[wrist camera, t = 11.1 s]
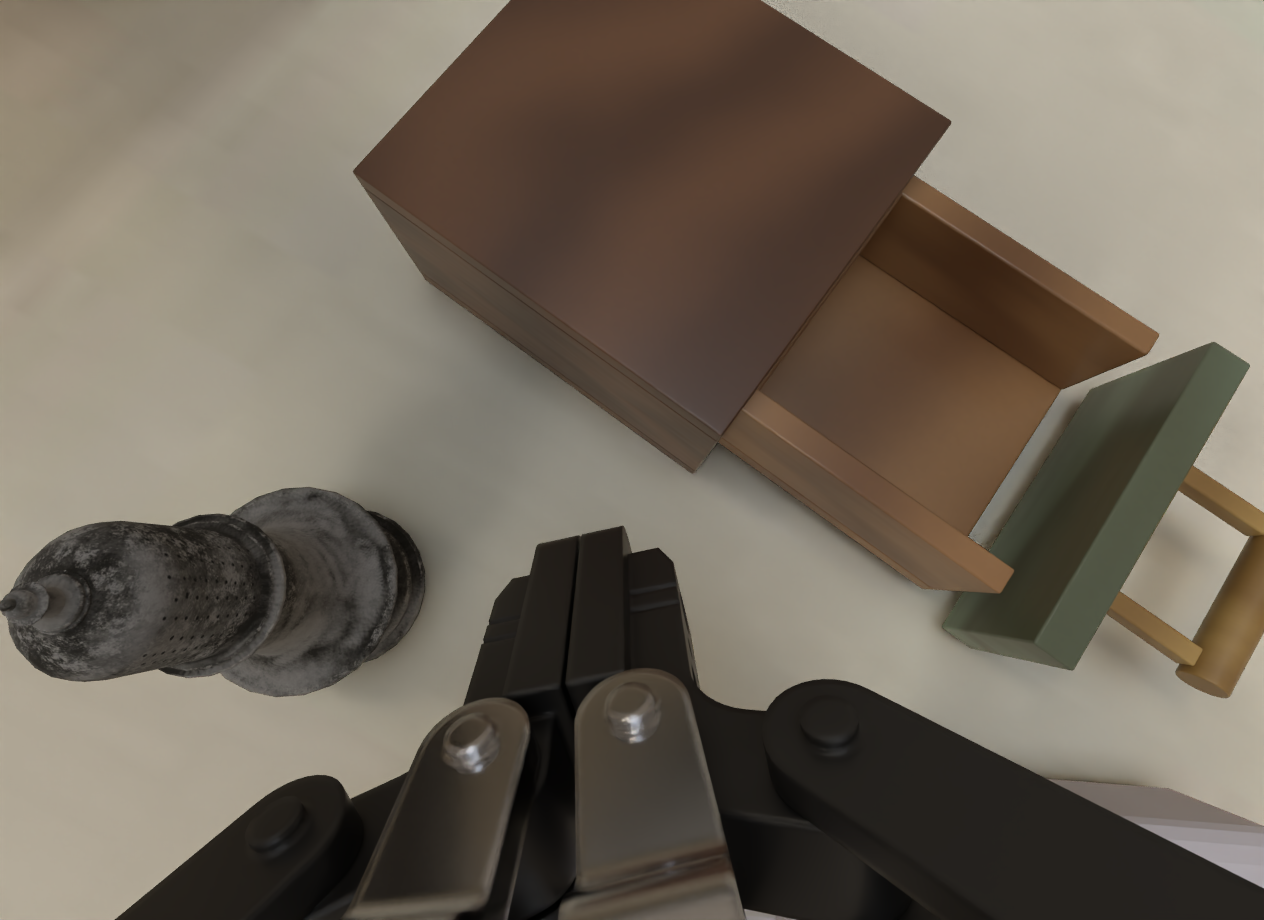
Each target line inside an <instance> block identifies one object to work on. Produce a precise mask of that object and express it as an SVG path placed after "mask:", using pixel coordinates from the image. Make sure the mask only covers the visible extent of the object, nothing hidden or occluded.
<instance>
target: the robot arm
mask: <svg viewBox="0 0 1264 920" xmlns="http://www.w3.org/2000/svg"><path fill="white" fill-rule="evenodd" d="M483 640H484V644H482V645H481V649H480V652H479V655H478V659H477V662H476V665H475V668H474V672H473V675H472V678H471V682H470V685H469V688H468V692H467V695H466V698H465V702H464V705H463V706H462V707H460V708H458V709H457V710H455V711H453V712H451V713H450V714H449V715H447V716H446V717H445V718H443V719H442V720H441V721H440V722H439V723H438V724H436V725H435V726H434V728H433V729H432V730H431V731H430V732H429V733H428V734H427V736H426V737H425V739H424V740H423V742H422V743H421V745H420V747H419V749H418V751H417V754H416V756H415V758H414V760H413V763H412V765H411V767H410V770H409V772H407V773H405V774H403V775H401V776H399V777H397V778H395V779H393V780H390V781H388V782H386V783H384V784H382V785H380V786H378V787H375V788H373V789H371V790H369V791H367V792H365V793H363V794H360V795H358V796H356V797H354V798H352V799H350V798H349V796H348V794H347V793H346V791H345V789H344V788H343V786H342V784H341V783H340V782H339V781H338V780H337V779H335V778H333V777H330V776H326V775H314V776H307V777H304V778H300V779H297V780H295V781H292V782H290V783H287V784H285V785H284V786H282V787H280V788H278V789H276V790H274V791H273V792H271V793H270V794H268V795H267V796H265V797H264V798H263V799H261V800H260V801H259V802H257V803H256V804H255V805H254V806H252V807H251V808H250V809H249V810H247V811H246V812H245V813H244V814H243V815H241V816H240V817H239V818H238V819H237V820H235V821H234V822H233V823H232V824H230V825H229V826H228V827H227V828H226V829H224V830H223V831H222V832H221V833H220V834H218V835H217V836H216V837H215V838H213V839H212V840H211V841H210V842H209V843H207V844H206V845H205V846H204V847H203V848H201V849H200V850H199V851H198V852H196V853H195V854H194V855H193V856H192V857H190V858H189V859H188V860H187V861H186V862H184V863H183V864H182V865H181V866H179V867H178V868H177V869H176V870H175V871H173V872H172V873H171V874H170V875H169V876H167V877H166V878H165V879H164V880H162V881H161V882H160V883H159V884H158V885H156V886H155V887H154V888H153V889H152V890H150V891H149V892H148V893H147V894H145V895H144V896H143V897H142V898H141V899H139V900H138V901H137V902H136V903H135V904H133V905H132V906H131V907H130V908H128V909H127V910H126V911H125V912H124V913H122V914H121V915H120V916H119V917H118V918H116V919H115V920H747V919H746V915H745V911H744V909H747V910H752V911H757V912H761V913H766V914H771V915H776V916H781V917H786V918H790V919H795V920H1264V888H1262V887H1260V886H1258V885H1256V884H1254V883H1252V882H1250V881H1248V880H1246V879H1244V878H1242V877H1240V876H1238V875H1236V874H1234V873H1232V872H1230V871H1228V870H1226V869H1224V868H1222V867H1220V866H1218V865H1216V864H1214V863H1212V862H1211V861H1209V860H1207V859H1205V858H1203V857H1201V856H1199V855H1197V854H1195V853H1193V852H1191V851H1189V850H1187V849H1185V848H1183V847H1181V846H1179V845H1177V844H1175V843H1173V842H1171V841H1169V840H1167V839H1165V838H1163V837H1161V836H1159V835H1157V834H1155V833H1153V832H1151V831H1149V830H1147V829H1145V828H1143V827H1141V826H1139V825H1137V824H1135V823H1133V822H1131V821H1129V820H1127V819H1125V818H1123V817H1121V816H1119V815H1117V814H1115V813H1113V812H1111V811H1109V810H1107V809H1105V808H1103V807H1101V806H1099V805H1097V804H1095V803H1093V802H1091V801H1089V800H1087V799H1085V798H1083V797H1081V796H1079V795H1077V794H1076V793H1074V792H1072V791H1070V790H1068V789H1066V788H1064V787H1062V786H1060V785H1058V784H1056V783H1054V782H1052V781H1050V780H1048V779H1046V778H1044V777H1042V776H1040V775H1038V774H1036V773H1034V772H1032V771H1030V770H1028V769H1026V768H1024V767H1022V766H1020V765H1018V764H1016V763H1014V762H1012V761H1010V760H1008V759H1006V758H1004V757H1002V756H1000V755H998V754H996V753H994V752H992V751H990V750H988V749H986V748H984V747H982V746H980V745H978V744H976V743H974V742H972V741H970V740H968V739H966V738H964V737H962V736H960V735H958V734H956V733H954V732H952V731H950V730H948V729H946V728H944V727H942V726H941V725H939V724H937V723H935V722H933V721H931V720H929V719H927V718H925V717H923V716H921V715H919V714H917V713H915V712H913V711H911V710H909V709H907V708H905V707H903V706H901V705H899V704H897V703H895V702H893V701H891V700H889V699H887V698H885V697H883V696H881V695H879V694H877V693H875V692H873V691H871V690H869V689H867V688H865V687H862V686H860V685H858V684H854V683H851V682H847V681H841V680H833V679H821V680H812V681H808V682H804V683H800V684H798V685H795V686H793V687H791V688H789V689H787V690H786V691H784V692H783V693H781V694H780V695H779V696H778V697H776V698H775V700H774V701H773V702H772V703H771V704H770V706H769V707H768V709H767V711H758V710H746V709H739V708H733V707H730V706H726V705H723V704H721V703H719V702H716V701H714V700H713V699H711V698H710V697H708V696H707V695H705V694H704V693H703V692H702V691H701V690H700V687H699V681H698V675H697V669H696V663H695V658H694V651H693V645H692V639H691V633H690V629H689V625H688V621H687V617H686V613H685V609H684V605H683V600H682V596H681V592H680V588H679V584H678V580H677V576H676V572H675V567H674V563H673V561H672V560H671V559H670V558H668V557H667V556H666V555H665V554H664V553H663V552H662V551H661V550H660V549H659V548H654V549H650V550H645V551H640V552H636V553H632V551H631V547H630V543H629V540H628V536H627V533H626V530H625V528H624V526H619V527H615V528H610V529H605V530H601V531H596V532H591V533H587V534H582V535H581V536H579V535H578V536H574V537H569V538H564V539H560V540H555V541H550V542H546V543H541V544H538V545H537V547H536V550H535V555H534V559H533V563H532V568H531V572H530V575H528V576H523V577H519V578H514V579H512V580H511V581H510V583H509V584H508V585H507V586H506V587H505V589H504V590H503V591H502V592H501V593H500V595H499V596H498V597H497V598H496V599H495V602H494V606H493V609H492V612H491V615H490V619H489V625H488V626H487V629H486V632H485V635H484V639H483Z"/></svg>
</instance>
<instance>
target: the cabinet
mask: <svg viewBox="0 0 1264 920" xmlns="http://www.w3.org/2000/svg"><path fill="white" fill-rule="evenodd" d="M950 125H951V121H950V120H949V119H947V118H946V117H944V116H943V115H941V114H939V113H938V112H936V111H935V110H933V109H932V108H930V107H928V106H927V105H925V104H924V103H922V102H920V101H919V100H917V99H916V98H914V97H913V96H911V95H909V94H908V93H906V92H905V91H903V90H902V89H900V88H898V87H897V86H895V85H894V84H892V83H891V82H889V81H887V80H886V79H884V78H883V77H881V76H879V75H878V74H876V73H875V72H873V71H872V70H870V69H868V68H867V67H865V66H864V65H862V64H861V63H859V62H857V61H856V60H854V59H853V58H851V57H849V56H848V55H846V54H845V53H843V52H842V51H840V50H838V49H837V48H835V47H834V46H832V45H831V44H829V43H827V42H826V41H824V40H823V39H821V38H819V37H818V36H816V35H815V34H813V33H812V32H810V31H808V30H807V29H805V28H804V27H802V26H801V25H799V24H797V23H796V22H794V21H793V20H791V19H789V18H788V17H786V16H785V15H783V14H782V13H780V12H778V11H777V10H775V9H774V8H772V7H771V6H769V5H767V4H766V3H764V2H763V1H761V0H510V2H509V3H508V4H507V5H506V6H505V7H504V8H503V9H502V10H501V11H500V12H499V13H498V15H497V16H496V17H495V18H494V19H493V20H492V21H491V22H490V23H489V24H488V25H487V26H486V27H485V29H484V30H483V31H482V32H481V33H480V34H479V35H478V36H477V37H476V38H475V39H474V40H473V42H472V43H471V44H470V45H469V46H468V47H467V48H466V49H465V50H464V51H463V52H462V53H461V55H460V56H459V57H458V58H457V59H456V60H455V61H454V62H453V63H452V64H451V65H450V66H449V67H448V69H447V70H446V71H445V72H444V73H443V74H442V75H441V76H440V77H439V78H438V79H437V80H436V82H435V83H434V84H433V85H432V86H431V87H430V88H429V89H428V90H427V91H426V92H425V93H424V94H423V96H422V97H421V98H420V99H419V100H418V101H417V102H416V103H415V104H414V105H413V106H412V107H411V109H410V110H409V111H408V112H407V113H406V114H405V115H404V116H403V117H402V118H401V119H400V120H399V122H398V123H397V124H396V125H395V126H394V127H393V128H392V129H391V130H390V131H389V132H388V133H387V134H386V136H385V137H384V138H383V139H382V140H381V141H380V142H379V143H378V144H377V145H376V146H375V147H374V149H373V150H372V151H371V152H370V153H369V154H368V155H367V156H366V157H365V158H364V159H363V160H362V161H361V163H360V164H359V165H358V166H357V167H356V168H355V169H354V170H353V173H354V174H355V176H356V177H357V179H358V180H359V182H360V183H361V185H362V186H363V187H364V189H365V190H366V192H367V193H368V195H369V196H370V198H371V199H372V201H373V202H374V204H375V205H376V207H377V208H378V210H379V211H380V213H381V214H382V216H383V217H384V219H385V220H386V222H387V223H388V225H389V226H390V228H391V229H392V231H393V232H394V234H395V235H396V237H397V238H398V239H399V241H400V242H401V244H402V245H403V247H404V248H405V250H406V251H407V253H408V254H409V256H410V257H411V259H412V260H413V262H414V263H415V265H416V266H417V268H418V269H419V271H420V272H421V274H422V275H423V277H424V278H425V280H427V281H428V282H429V283H431V284H432V285H434V286H435V287H436V288H438V289H439V290H440V291H442V292H443V293H445V294H446V295H447V296H449V297H450V298H451V299H453V300H454V301H456V302H457V303H458V304H460V305H461V306H462V307H464V308H465V309H467V310H468V311H469V312H471V313H472V314H473V315H475V316H476V317H478V318H479V319H480V320H482V321H483V322H484V323H486V324H487V325H489V326H490V327H491V328H493V329H494V330H495V331H497V332H498V333H500V334H501V335H502V336H504V337H505V338H506V339H508V340H509V341H511V342H512V343H513V344H515V345H516V346H517V347H519V348H520V349H522V350H523V351H524V352H526V353H527V354H528V355H530V356H531V357H532V358H534V359H535V360H537V361H538V362H539V363H541V364H542V365H543V366H545V367H546V368H548V369H549V370H550V371H552V372H553V373H554V374H556V375H557V376H559V377H560V378H561V379H563V380H564V381H565V382H567V383H568V384H570V385H571V386H572V387H574V388H575V389H576V390H578V391H579V392H581V393H582V394H583V395H585V396H586V397H587V398H589V399H590V400H592V401H593V402H594V403H596V404H597V405H598V406H600V407H601V408H603V409H604V410H605V411H607V412H608V413H609V414H611V415H612V416H614V417H615V418H616V419H618V420H619V421H620V422H622V423H623V424H625V425H626V426H627V427H629V428H630V429H631V430H633V431H634V432H635V433H637V434H638V435H640V436H641V437H642V438H644V439H645V440H646V441H648V442H649V443H651V444H652V445H653V446H655V447H656V448H657V449H659V450H660V451H662V452H663V453H664V454H666V455H667V456H668V457H670V458H671V459H673V460H674V461H675V462H677V463H678V464H679V465H681V466H682V467H684V468H685V469H686V470H688V471H689V472H690V473H692V474H694V473H695V472H696V471H697V469H698V468H699V466H700V465H701V464H702V462H703V461H704V460H705V458H706V457H707V456H708V454H709V453H710V452H711V450H712V449H713V448H714V446H715V445H716V444H717V442H718V441H719V440H720V438H721V437H722V436H723V434H724V433H725V432H726V430H727V429H728V427H729V426H730V425H731V423H732V422H733V421H734V419H735V418H736V417H737V415H738V414H739V412H740V411H741V410H742V408H743V407H744V406H745V404H746V403H747V402H748V400H749V399H750V397H751V396H752V395H753V393H754V392H755V391H756V389H757V388H758V387H759V385H760V384H761V382H762V381H763V380H764V378H765V377H766V376H767V374H768V373H769V372H770V370H771V369H772V367H773V366H774V365H775V363H776V362H777V361H778V359H779V358H780V357H781V355H782V354H783V352H784V351H785V350H786V348H787V347H788V346H789V344H790V343H791V342H792V340H793V339H794V337H795V336H796V335H797V333H798V332H799V331H800V329H801V328H802V327H803V325H804V324H805V322H806V321H807V320H808V318H809V317H810V316H811V314H812V313H813V312H814V310H815V309H816V307H817V306H818V305H819V303H820V302H821V301H822V299H823V298H824V297H825V295H826V294H827V292H828V291H829V290H830V288H831V287H832V286H833V284H834V283H835V282H836V280H837V279H838V277H839V276H840V275H841V273H842V272H843V271H844V269H845V268H846V267H847V265H848V264H849V262H850V261H851V260H852V258H853V257H854V256H855V254H856V253H857V252H858V250H859V249H860V247H861V246H862V245H863V243H864V242H865V241H866V239H867V238H868V237H869V235H870V234H871V232H872V231H873V230H874V228H875V227H876V226H877V224H878V223H879V222H880V220H881V219H882V217H883V216H884V215H885V213H886V212H887V211H888V209H889V208H890V207H891V205H892V204H893V202H894V201H895V200H896V198H897V197H898V196H899V194H900V193H901V192H902V190H903V189H904V187H905V186H906V185H907V183H908V182H909V181H910V179H911V178H912V177H913V175H914V174H915V172H916V171H917V170H918V168H919V167H920V166H921V164H922V163H923V162H924V160H925V159H926V157H927V156H928V155H929V153H930V152H931V151H932V149H933V148H934V147H935V145H936V144H937V142H938V141H939V140H940V138H941V137H942V136H943V134H944V133H945V132H946V130H947V129H948V127H949V126H950Z"/></svg>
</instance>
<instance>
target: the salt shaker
mask: <svg viewBox="0 0 1264 920" xmlns="http://www.w3.org/2000/svg"><path fill="white" fill-rule="evenodd" d="M424 592H425V571H424V567H423V563H422V560H421V556H420V552H419V550H418V549H417V547H416V545H415V544H414V542H413V540H412V539H411V537H410V535H409V534H408V533H407V532H406V531H405V530H403V529H402V528H401V527H400V526H399V525H398V524H397V523H396V522H395V521H393V520H391V519H389V518H387V517H385V516H383V515H381V514H379V513H376V512H371V511H366V510H365V509H364V508H363V507H362V506H360V505H359V504H358V503H356V502H354V501H352V500H350V499H348V498H346V497H344V496H342V495H340V494H338V493H336V492H331V491H326V490H321V489H316V488H312V487H303V488H287V489H281V490H278V491H275V492H271V493H268V494H265V495H262V496H259V497H257V498H255V499H253V500H252V501H250V502H248V503H247V504H245V505H243V506H242V507H240V508H239V509H237V510H235V511H234V512H233V513H232V514H231V515H230V516H229V515H224V514H209V515H198V516H195V517H192V518H189V519H186V520H183V521H180V522H177V523H176V524H174V525H173V526H166V525H156V524H146V523H136V522H126V521H114V522H101V523H95V524H89V525H85V526H82V527H79V528H76V529H73V530H70V531H67V532H66V533H64V534H62V535H61V536H59V537H57V538H56V539H54V540H53V541H51V542H49V543H48V544H47V545H46V546H45V547H44V548H43V549H42V550H41V551H40V552H39V553H38V554H37V555H35V556H34V557H33V558H32V559H31V560H30V561H29V562H28V563H27V564H26V566H25V567H24V569H23V570H22V572H21V573H20V575H19V576H18V578H17V579H16V582H15V584H14V587H13V589H12V590H11V591H10V593H9V594H7V595H6V596H5V597H4V598H3V600H2V601H0V610H1V612H2V614H3V615H4V616H6V618H7V620H8V625H9V632H10V635H11V637H12V639H13V641H14V644H15V646H16V648H17V649H18V650H19V651H20V652H21V654H22V655H23V656H24V657H25V658H26V659H27V660H28V661H29V662H30V663H31V664H32V665H33V666H34V667H35V668H36V669H38V670H40V671H42V672H44V673H45V674H47V675H49V676H51V677H55V678H60V679H65V680H70V681H82V682H87V681H99V680H108V679H113V678H118V677H122V676H127V675H132V674H136V673H141V672H146V671H151V670H155V669H159V670H161V671H163V672H165V673H166V674H170V675H175V676H180V677H185V678H193V677H205V676H212V675H215V674H218V673H221V674H222V675H223V676H224V677H225V678H226V679H227V680H229V681H231V682H233V683H235V684H237V685H238V686H240V687H242V688H244V689H246V690H248V691H250V692H255V693H259V694H264V695H269V696H274V697H283V696H297V695H306V694H308V693H311V692H314V691H317V690H320V689H323V688H326V687H329V686H332V685H334V684H335V683H337V682H338V681H340V680H341V679H343V678H344V677H346V676H347V675H349V674H350V673H352V672H353V671H355V670H356V669H357V668H358V667H359V666H360V665H361V664H362V663H364V662H367V661H370V660H373V659H375V658H378V657H379V656H381V655H382V654H384V653H385V652H387V651H388V650H390V649H391V648H393V647H394V646H395V645H396V644H397V643H398V642H399V641H400V640H401V639H402V638H403V637H404V636H405V634H406V633H407V632H408V631H409V630H410V628H411V626H412V624H413V623H414V621H415V619H416V617H417V615H418V613H419V611H420V607H421V604H422V600H423V596H424Z"/></svg>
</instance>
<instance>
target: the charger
mask: <svg viewBox="0 0 1264 920" xmlns="http://www.w3.org/2000/svg"><path fill="white" fill-rule="evenodd" d="M1048 780H1050V781H1052V782H1054V783H1056V784H1058V785H1060V786H1062V787H1064V788H1066V789H1068V790H1070V791H1072V792H1074V793H1076V794H1077V795H1079V796H1081V797H1083V798H1085V799H1087V800H1089V801H1091V802H1093V803H1095V804H1097V805H1099V806H1101V807H1103V808H1105V809H1107V810H1109V811H1111V812H1113V813H1115V814H1117V815H1119V816H1121V817H1123V818H1125V819H1127V820H1129V821H1131V822H1133V823H1135V824H1137V825H1139V826H1141V827H1143V828H1145V829H1147V830H1149V831H1151V832H1153V833H1155V834H1157V835H1159V836H1161V837H1163V838H1165V839H1167V840H1169V841H1171V842H1173V843H1175V844H1177V845H1179V846H1181V847H1183V848H1185V849H1187V850H1189V851H1191V852H1193V853H1195V854H1197V855H1199V856H1201V857H1203V858H1205V859H1207V860H1209V861H1211V862H1212V863H1214V864H1216V865H1218V866H1220V867H1222V868H1224V869H1226V870H1228V871H1230V872H1232V873H1234V874H1236V875H1238V876H1240V877H1242V878H1244V879H1246V880H1248V881H1250V882H1252V883H1254V884H1256V885H1258V886H1260V887H1262V888H1264V826H1262V825H1259V824H1257V823H1254V822H1252V821H1249V820H1247V819H1244V818H1242V817H1239V816H1237V815H1234V814H1232V813H1229V812H1227V811H1224V810H1222V809H1219V808H1217V807H1214V806H1212V805H1209V804H1207V803H1204V802H1202V801H1199V800H1197V799H1194V798H1192V797H1189V796H1187V795H1184V794H1182V793H1179V792H1177V791H1174V790H1172V789H1169V788H1157V787H1145V786H1132V785H1119V784H1107V783H1094V782H1082V781H1069V780H1057V779H1048ZM744 911H745V915H746V919H747V920H795V919H790V918H786V917H781V916H776V915H771V914H766V913H761V912H757V911H752V910H747V909H744Z"/></svg>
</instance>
